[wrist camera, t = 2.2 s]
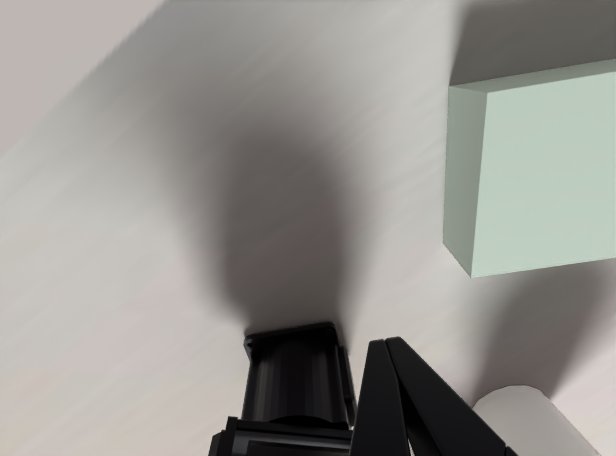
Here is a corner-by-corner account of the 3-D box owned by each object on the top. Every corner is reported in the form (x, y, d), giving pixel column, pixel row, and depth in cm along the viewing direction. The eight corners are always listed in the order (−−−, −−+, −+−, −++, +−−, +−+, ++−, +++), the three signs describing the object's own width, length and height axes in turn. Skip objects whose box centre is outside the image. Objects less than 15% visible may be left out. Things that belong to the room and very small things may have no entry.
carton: (440, 240, 21) (470, 278, 17) (446, 85, 16) (487, 92, 13) (604, 216, 20) (671, 249, 17) (652, 51, 16) (754, 48, 12)
